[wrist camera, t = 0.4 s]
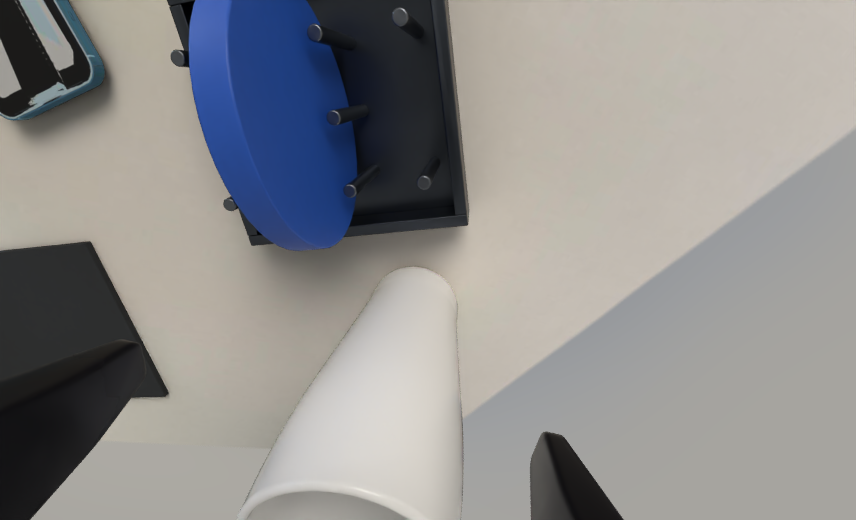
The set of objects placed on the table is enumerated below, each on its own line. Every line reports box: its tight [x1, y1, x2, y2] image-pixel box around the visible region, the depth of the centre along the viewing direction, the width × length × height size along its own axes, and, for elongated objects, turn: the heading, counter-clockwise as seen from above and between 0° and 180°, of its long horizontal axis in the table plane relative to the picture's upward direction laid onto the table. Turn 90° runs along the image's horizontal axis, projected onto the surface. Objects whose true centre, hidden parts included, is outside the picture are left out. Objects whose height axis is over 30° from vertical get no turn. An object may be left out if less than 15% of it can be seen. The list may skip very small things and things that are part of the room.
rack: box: [167, 0, 469, 246], centre depth 18 cm, size 12×12×5 cm
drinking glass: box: [236, 266, 463, 520], centre depth 18 cm, size 7×7×15 cm
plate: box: [188, 0, 357, 251], centre depth 15 cm, size 1×10×10 cm, turn 8°
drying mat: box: [0, 242, 168, 398], centre depth 30 cm, size 13×20×1 cm, turn 98°
